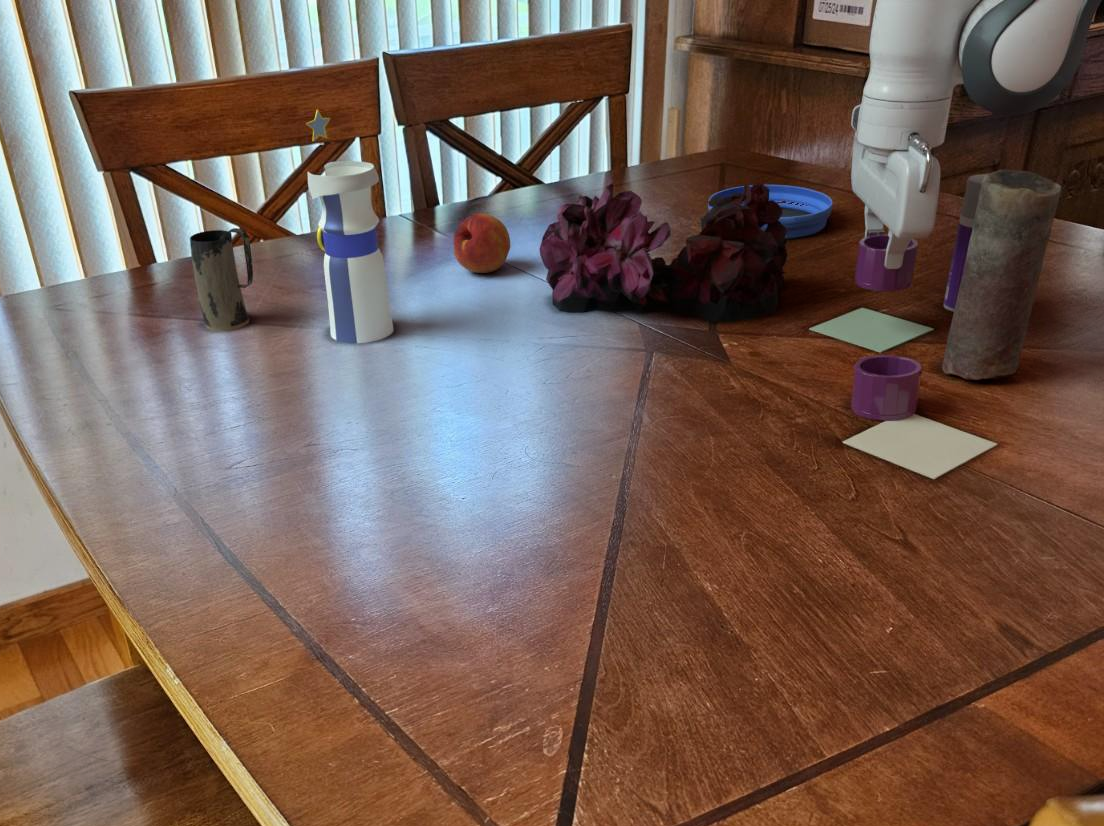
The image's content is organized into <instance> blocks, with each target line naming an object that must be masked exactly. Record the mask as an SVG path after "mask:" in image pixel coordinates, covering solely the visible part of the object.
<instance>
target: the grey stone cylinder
mask: <svg viewBox="0 0 1104 826" xmlns="http://www.w3.org/2000/svg"><path fill="white" fill-rule="evenodd" d="M985 174H986V176H985V177H984V179H983V183H982V186H981V189H980V195H979V201H978V205H977V209H976V213H975V218H974V224H973V229H972V234H971V237H970V242H969V246H968V251H967V255H966V260H965V265H964V269H963V275H962V280H961V284H960V288H959V292H958V296H957V301H956V305H955V309H954V312H953V315H952V318H951V323H950V327H949V332H948V336H947V341H946V345H945V351H944V355H943V359H942V365H941V369H942V371H943V373H944V374H946V375H953V376H956V377H960V378H962V379H965V380H967V381H979V380H996V381H997V380H999V379H1005V378H1006V377H1009V376H1011V375H1014V374H1015V373H1016V371H1017V369H1018V367H1019V364H1020V359H1021V355H1022V351H1023V347H1024V343H1025V339H1026V336H1027V331H1028V327H1029V323H1030V318H1031V314H1032V310H1033V306H1034V302H1035V298H1036V297H1035V296H1036V294H1037V289H1038V284H1039V281H1040V278H1041V273H1042V269H1043V264H1044V260H1045V256H1046V252H1047V247H1048V243H1049V240H1050V236H1051V232H1052V228H1053V227H1052V226H1053V222H1054V219H1055V214H1056V211H1057V207H1058V205H1059V204H1058V203H1059V201H1060V196H1061V193H1062V185H1061V184H1059V183H1058V182H1055V181H1054V180H1052V179H1049V178H1046V177H1044V176H1042V175H1040V174H1039V173H1036V172H1030V171H1026V170H1015V169H1013V170H1010V169H998V170H996V171H992V172H988V173H985Z"/></svg>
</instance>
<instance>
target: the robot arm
mask: <svg viewBox="0 0 1104 826" xmlns="http://www.w3.org/2000/svg"><path fill="white" fill-rule="evenodd" d="M1102 1H1103V0H876V4H875V7H874V13H873V17H872V18H873V19H872V25H871V32H870V39H869V46H868V49H869V58H870V59H869V60H870V68H869V73H868V77H867V80H866V81H865V84H864V87H863V90H862V97H861V102H860V104H858V105H856V106H854V107H853V110H852V115H851V121H850V122H851V127H852V129H853V130H854V131H855V132H854V136H853V142H852V143H853V144H852V153H851V154H852V155H851V170H850V180H851V181H850V183H851V189H852V192H853V193H854V195H856V196H857V197H858V198H859V200H861V201H862V202H863V204H864V211H863V212H864V224H865V225H864V227H865V231H864V238H865V237H868V236H872V235H882V234H886V231H885V230H884V227H886V228H887V229H888V233H887V234H888V236H889V241H888V245H887V248H886V249H884V252H883V259H882V263H883V264H884V266H885V267H886V268H888V269H898V268H900V267H901V266H902V262H903V257H904V252H905V251H906V249H907V247H908V245H909V243H910V241H911V239H926V238H929V237H930V235H931V234H932V232H933V230H934V227H935V224H936V218H937V211H938V210H937V209H938V202H939V194H940V186H941V185H940V184H941V165H940V162H939V160H938V159H937V158H936V157H935V156H933V155H932V153H931V151H932V149H933V148H938V147H941V145H943V144H944V142H945V138H946V133H947V127H948V121H949V115H950V109H951V104H952V97H953V93H954V92H953V91H954V89H955V87H956V86H957V85H958V86H959V85H963V86H964V89H965V91H966V92H967V95H968V96H969V98H970V99H971V100H972V101H973V103H975V104H976V105H977V106H979V108H981V109H983V110H985V111H986V112H989V113H991V114H995V115H1000V116H1019V115H1024V114H1029V113H1031V112H1034V111H1037V110H1039V109H1040V108H1042V107H1044V106H1046V105H1048V104H1049V103H1051V102H1052V101H1053V100H1054V99H1056V98H1057V97H1059V95H1060V94H1061V93H1062V92H1063V91H1064V90H1065V89H1066V88H1067V86H1068V85H1069V84H1070V83H1071V81H1072V80H1073V78H1074V76H1075V75H1076V72H1077V71H1078V69H1079V66H1080V64H1081V61H1082V58H1083V55H1084V51H1085V47H1086V42H1087V40H1088V39H1087V38H1088V36H1089V31H1090V28H1091V25H1092V22H1093V19H1094V17H1095V15H1096V13H1097V11H1098V8H1099V6H1100V4H1101V2H1102Z"/></svg>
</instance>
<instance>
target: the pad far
mask: <svg viewBox="0 0 1104 826" xmlns="http://www.w3.org/2000/svg"><path fill="white" fill-rule="evenodd" d="M934 330H935V328H934V327H933V328H932V327H930V326H926V325H923V324H919V323H916V322H913V321H909V320H906V319H902V318H899V317H895V316H892V315H889V314H885V313H882V312H879V311H875V310H872V309H868V308H865V307H860V308H857V309H855V310H852V311H850V312H847V313H844V314H842V315H840V316H838V317H835V318H832V319H829V320H828V321H824V322H822V323H820V324H817V325H814V326H812V327H809V331H812V332H816V333H818V334H821V335H825V336H828V337H831V338H833V339H837V340H840V341H843V342H846V343H850V344H853V345H855V346H858V347H861V348H865V349H868V350H871V351H874V352H877V353H880V354H881V353H884V352H886V351H889V350H890V349H894V348H895V347H897V346H900V345H903V344H905V343H908V342H910V341H912V340H914V339H916V338H918V337H921V336H923V335H926V334H928V333H930V332H933V331H934Z"/></svg>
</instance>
